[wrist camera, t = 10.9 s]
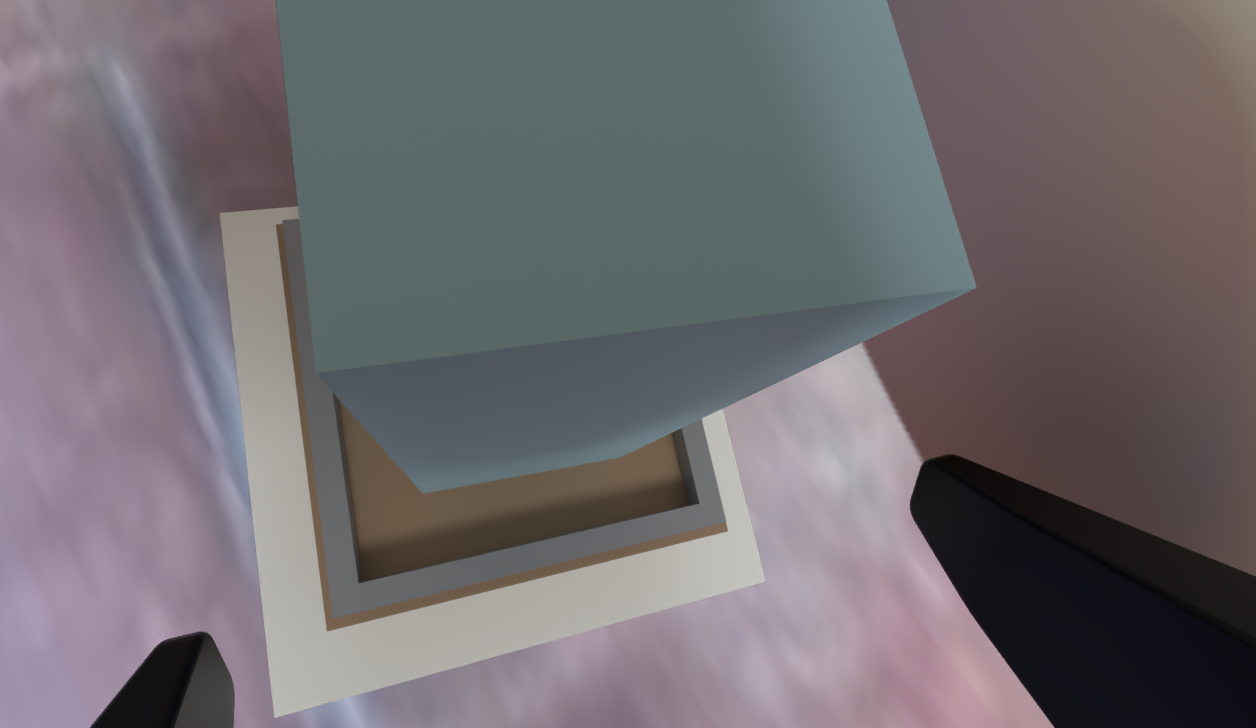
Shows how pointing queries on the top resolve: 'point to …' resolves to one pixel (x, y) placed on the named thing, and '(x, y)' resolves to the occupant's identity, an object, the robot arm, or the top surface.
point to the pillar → (599, 214)
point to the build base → (441, 623)
